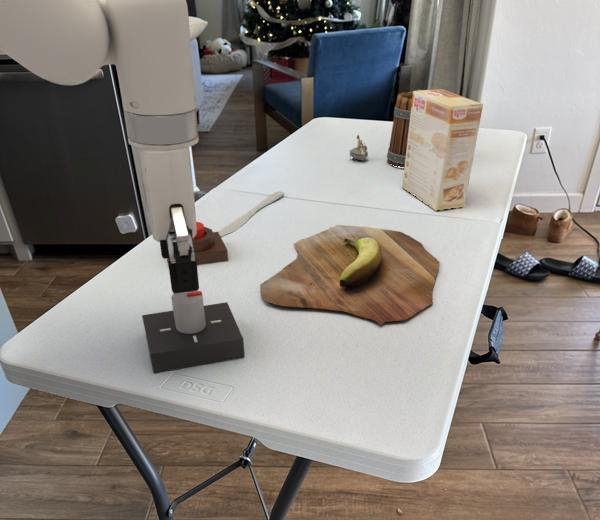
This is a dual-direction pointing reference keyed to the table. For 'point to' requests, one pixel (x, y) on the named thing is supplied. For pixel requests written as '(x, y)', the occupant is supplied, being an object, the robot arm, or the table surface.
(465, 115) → the coffeecake box
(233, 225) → the butter knife
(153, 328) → the dial panel
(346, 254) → the cutting board
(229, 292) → the table surface
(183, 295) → the dial
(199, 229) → the power button
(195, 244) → the block
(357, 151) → the figurine
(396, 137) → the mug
